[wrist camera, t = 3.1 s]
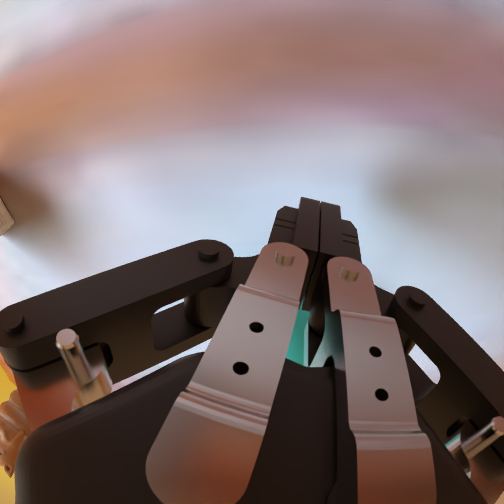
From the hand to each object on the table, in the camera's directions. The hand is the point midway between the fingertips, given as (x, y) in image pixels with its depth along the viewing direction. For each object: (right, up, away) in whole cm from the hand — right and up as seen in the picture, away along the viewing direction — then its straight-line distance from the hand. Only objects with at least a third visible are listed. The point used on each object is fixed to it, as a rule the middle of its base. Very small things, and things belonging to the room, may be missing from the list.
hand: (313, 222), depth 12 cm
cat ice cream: (-33, -20, +27) cm, 47 cm away
